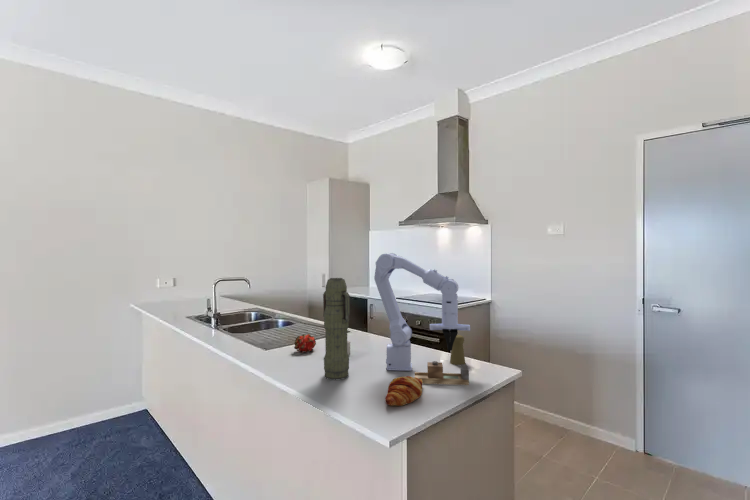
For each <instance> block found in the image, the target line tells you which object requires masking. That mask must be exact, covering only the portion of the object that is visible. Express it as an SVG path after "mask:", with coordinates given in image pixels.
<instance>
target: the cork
mask: <svg viewBox="0 0 750 500" xmlns="http://www.w3.org/2000/svg"><path fill="white" fill-rule="evenodd" d="M464 343H465V337H464V335H461V334H457V336H456V338H455V340H454V343H453V347H452V351H450V360H449V364H451V365H455V366H461V364H463V365H466V358H465V357H466V356H465V352H464V350H465V349H464Z"/></svg>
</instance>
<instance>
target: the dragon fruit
mask: <svg viewBox="0 0 750 500" xmlns="http://www.w3.org/2000/svg"><path fill="white" fill-rule="evenodd" d="M316 345H317V341H316V339H315V337H314V335H313V336H312V335H311V334H310V333H307V334H302V335H297V337H296V338H295V340H294V347H293V348H294V349H295V350H296V351H297V352H299V353H301V354H302V353H304V352H305V353H310V352H312V351H314V348H315V347H316Z"/></svg>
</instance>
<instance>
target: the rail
mask: <svg viewBox="0 0 750 500" xmlns="http://www.w3.org/2000/svg"><path fill="white" fill-rule="evenodd" d="M415 377H416V378H418V379H422V381H423V385H425V384H427V385H453V386H454V385H456V386H470V370H469V367H468V365H467V364H464V365H463V364H461V365H460V373H457V372H456V373H454V372H450V373H449V372H443V378H428V371H427V372H426V371H425V372H424V371H423V372H421V371H419V372H418V371H415V372H414V378H415Z"/></svg>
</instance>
